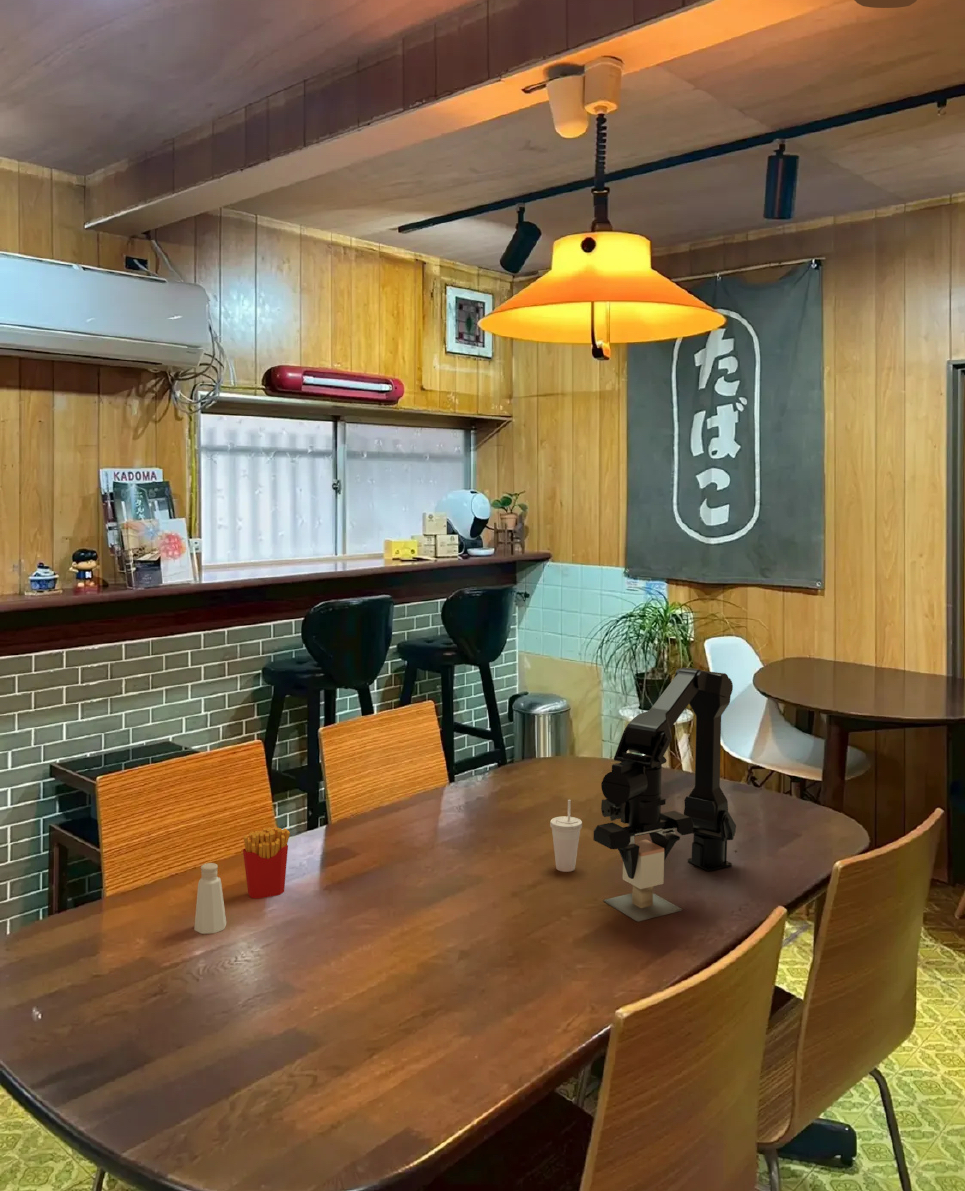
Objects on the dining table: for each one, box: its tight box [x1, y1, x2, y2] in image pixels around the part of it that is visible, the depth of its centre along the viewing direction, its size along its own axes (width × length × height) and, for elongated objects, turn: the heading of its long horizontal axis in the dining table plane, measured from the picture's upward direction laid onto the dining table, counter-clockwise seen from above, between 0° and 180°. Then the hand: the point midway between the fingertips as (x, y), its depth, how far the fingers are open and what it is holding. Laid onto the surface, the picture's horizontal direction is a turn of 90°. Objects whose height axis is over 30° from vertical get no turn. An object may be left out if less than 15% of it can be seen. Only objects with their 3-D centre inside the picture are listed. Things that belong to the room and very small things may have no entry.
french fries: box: [242, 826, 291, 899], centre depth 184 cm, size 8×4×12 cm, turn 118°
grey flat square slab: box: [603, 885, 683, 923], centre depth 179 cm, size 10×10×7 cm
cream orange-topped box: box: [622, 839, 665, 889], centre depth 179 cm, size 5×5×7 cm
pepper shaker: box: [193, 862, 227, 935], centre depth 169 cm, size 5×5×11 cm
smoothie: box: [549, 799, 583, 873], centre depth 197 cm, size 6×6×14 cm
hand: (643, 875), depth 179 cm, fingers closed on cream orange-topped box, 5 cm apart
